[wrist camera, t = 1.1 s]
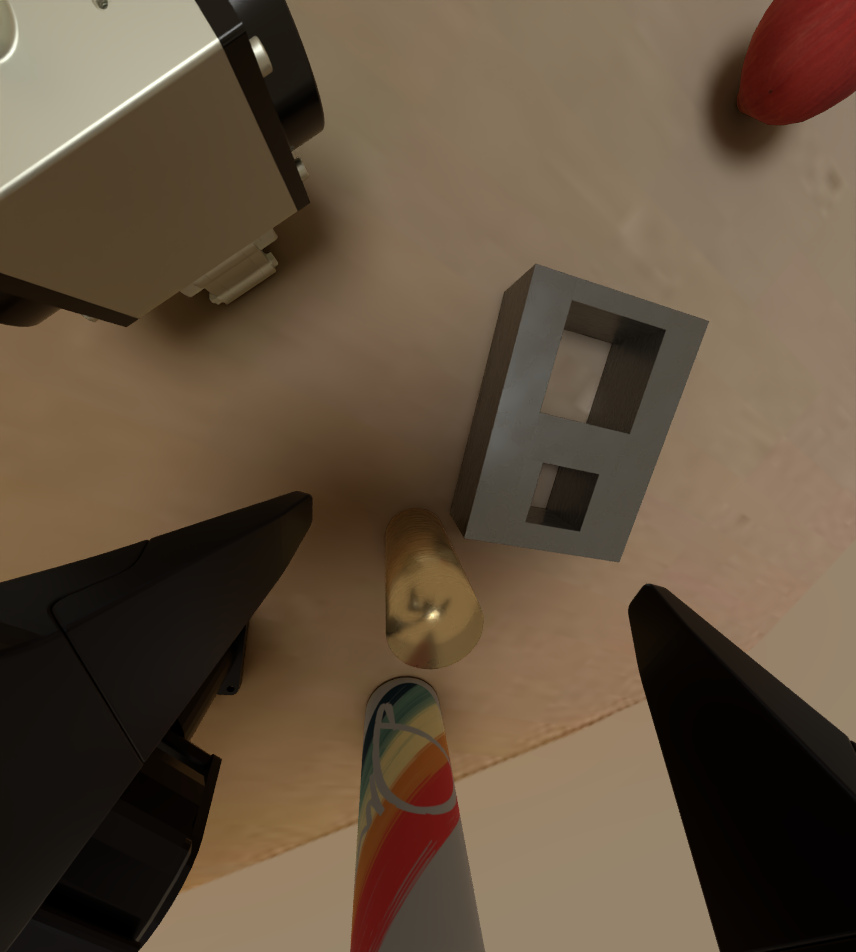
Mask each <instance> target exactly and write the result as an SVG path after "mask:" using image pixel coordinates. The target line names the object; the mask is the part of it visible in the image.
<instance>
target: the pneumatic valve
mask: <svg viewBox="0 0 856 952" xmlns="http://www.w3.org/2000/svg"><path fill="white" fill-rule="evenodd" d="M323 129H324V112H323V107H322V103H321V99H320V95H319V91H318V88H317V85H316V81H315V78H314V75H313V72H312V69H311V66H310V63H309V60H308V57H307V54H306V52H305V49H304V46H303V43H302V41H301V38H300V36H299V33H298V30H297V28H296V25H295V23H294V20H293V18H292V15H291V13H290V10H289V8H288V6H287V3H286V1H285V0H0V324H5V325H10V326H17V327H30V326H34V325H37V324H39V323H41V322H42V321H44V320H45V319H47V318H48V317H50V316H51V315H53V314H54V313H55V312H57V311H58V310H60V309H65V310H68V311H72V312H75V313H79V314H81V315H82V316H83V317H85V318H86V319H88V320H90V321H92V322H96V321H97V320H99V319H100V320H103V321H107V322H110V323H114V324H117V325H121V326H124V327H128V326H129V325H131V324H132V323H133V322H135V321H136V320H138V319H139V318H141V317H142V316H144V315H145V314H147V313H148V312H150V311H151V310H153V309H154V308H156V307H157V306H159V305H160V304H162V303H163V302H164V301H166V300H167V299H169V298H170V297H172V296H173V295H175V294H176V293H178V292H179V291H180V292H181V293H182V294H184V295H186V296H188V297H192V296H194V295H195V294H197V293H198V292H200V291H201V290H203V289H204V288H205V289H206V290H207V291H209V292H210V293H209V296H210V297H209V299H210V301H211V302H212V303H216V304H218V305H219V304H220V303H222V302H223V303H225V304H227V305H228V304H229V303H231V302H232V301H234V300H235V299H237V298H238V297H240V296H241V295H242V294H244V293H245V292H247V291H248V290H250V289H251V288H253V287H254V286H256V285H257V284H259V283H260V282H262V281H263V280H265V279H266V278H268V277H269V276H271V275H272V274H274V273H275V272H277V271H276V269H275V268H276V265H278V264H279V263H278V262H277V260H276V259H275V257H274V256H273V254H272V253H271V252H269V253H268V254H266V253H264V252H263V250H262V249H263V248H265V247H266V246H268V245H269V244H271V243H272V242H274V241H275V240H276V239H277V238H278V236H277V234H276V233H275V231H274V230H273V228H274V227H275V226H277V225H278V224H280V223H281V222H283V221H284V220H286V219H287V218H288V217H290V216H291V215H293V214H294V213H296V212H297V211H299V210H300V209H302V208H303V207H305V206H306V205H308V204H309V203H310V201H309V198H308V196H307V193H306V190H305V188H304V185H303V182H302V181H304V180H305V179H307V178H308V177H309V175H308V172H307V170H306V168H305V166H304V164H303V162H302V161H301V159H300V158H296V159H295V160H294V158H293V156H292V153H291V152H292V151H293V150H295V149H296V148H298V147H299V146H301V145H302V144H304V143H305V142H307V141H308V140H309V139H311V138H312V137H314V136H315V135H317V134H318V133H320V132H321V131H322V130H323Z"/></svg>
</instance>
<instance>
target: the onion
mask: <svg viewBox="0 0 856 952" xmlns="http://www.w3.org/2000/svg"><path fill="white" fill-rule="evenodd" d="M855 91H856V0H773V2H772V3H771V5H770V6H769V8H768V9H767V10H766V12H765V14H764V16H763V17H762V19H761V21H760V23H759V25H758V27H757V28H756V30H755V32H754V34H753V36H752V39H751V42H750V45H749V48H748V51H747V53H746V57H745V60H744V64H743V67H742V72H741V82H740V89H739V92H738V95H737V107H738V110H739V111H740V112H741V113H744V114H746V115H748V116H750V117H752V118H754V119H757V120H759V121H761V122H763V123H765V124H768V125H787V124H793V123H798V122H803V121H805V120H807V119H810V118H812V117H814V116H816V115H818V114H820V113H822V112H824V111H826V110H828V109H829V108H831V107H832V106H834V105H836V104H837V103H839V102H840V101H842V100H844V99H845V98H847V97H848V96H850V95H851V94H852V93H854V92H855Z"/></svg>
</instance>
